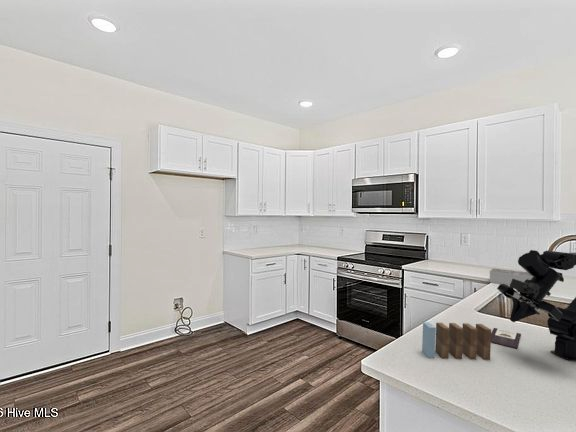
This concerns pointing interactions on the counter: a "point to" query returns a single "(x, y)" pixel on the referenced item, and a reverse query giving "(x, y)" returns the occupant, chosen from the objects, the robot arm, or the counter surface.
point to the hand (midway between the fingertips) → (511, 321)
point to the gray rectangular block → (507, 276)
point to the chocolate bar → (505, 338)
